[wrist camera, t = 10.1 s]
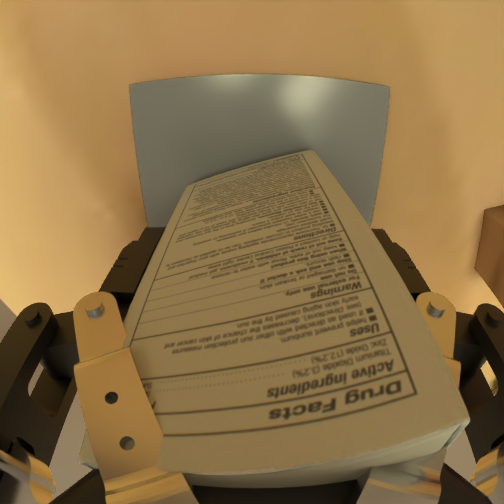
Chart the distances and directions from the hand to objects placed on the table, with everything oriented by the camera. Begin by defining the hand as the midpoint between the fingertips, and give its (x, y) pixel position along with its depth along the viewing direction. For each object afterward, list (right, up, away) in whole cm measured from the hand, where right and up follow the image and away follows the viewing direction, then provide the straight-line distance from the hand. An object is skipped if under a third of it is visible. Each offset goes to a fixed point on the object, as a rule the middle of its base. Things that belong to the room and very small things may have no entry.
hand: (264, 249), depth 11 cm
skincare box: (0, +2, +3) cm, 4 cm away
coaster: (0, +3, +4) cm, 5 cm away
